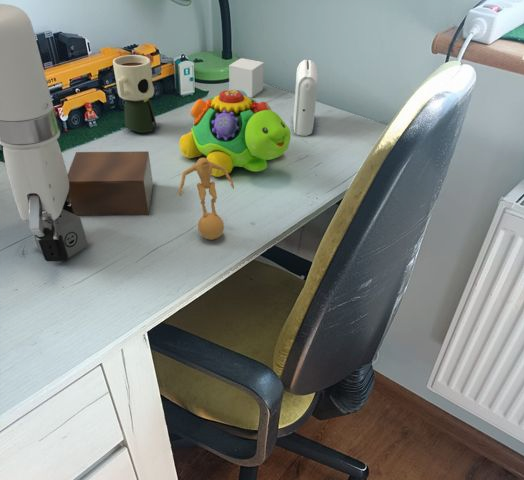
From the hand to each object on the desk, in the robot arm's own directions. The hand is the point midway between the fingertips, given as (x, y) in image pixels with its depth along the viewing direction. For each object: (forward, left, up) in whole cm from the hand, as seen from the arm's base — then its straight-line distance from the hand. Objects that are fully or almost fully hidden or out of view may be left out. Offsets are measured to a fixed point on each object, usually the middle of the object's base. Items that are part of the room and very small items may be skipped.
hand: (62, 243), depth 77 cm
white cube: (+31, +63, -1) cm, 70 cm away
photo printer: (+42, +43, -1) cm, 60 cm away
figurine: (+22, +3, -1) cm, 22 cm away
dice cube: (0, 0, -1) cm, 1 cm away
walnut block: (+6, +14, -1) cm, 15 cm away
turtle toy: (+28, +27, -1) cm, 39 cm away
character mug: (+8, +42, -1) cm, 43 cm away
